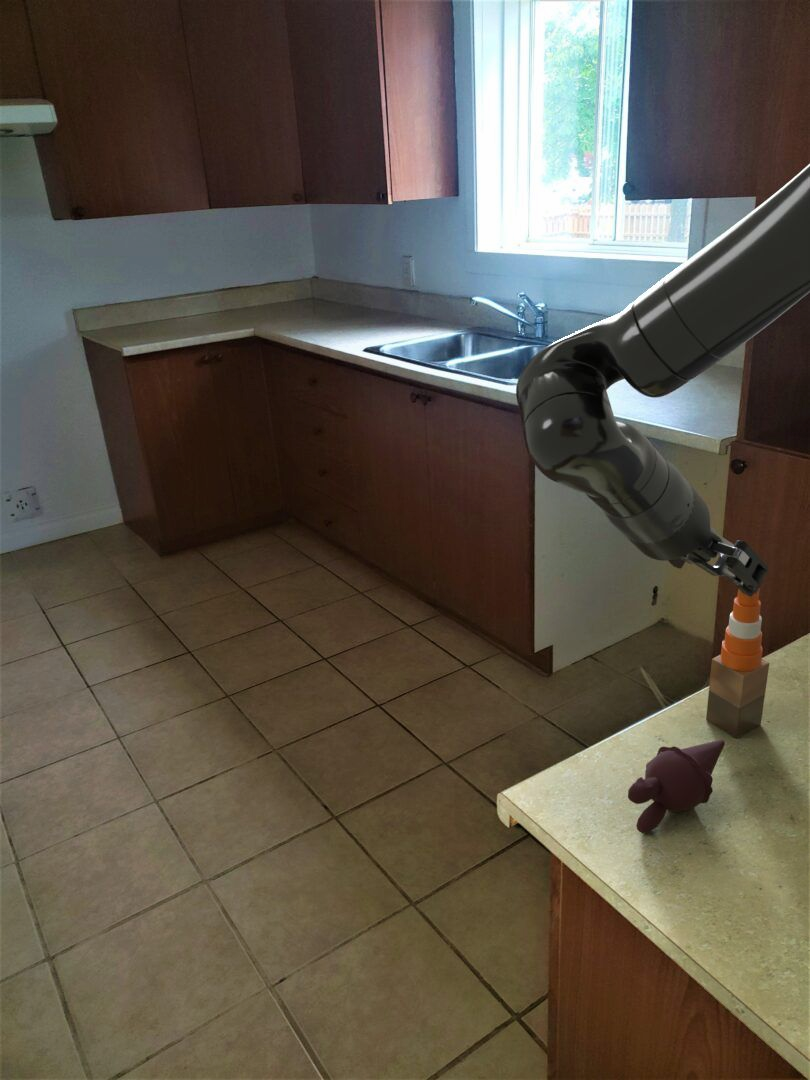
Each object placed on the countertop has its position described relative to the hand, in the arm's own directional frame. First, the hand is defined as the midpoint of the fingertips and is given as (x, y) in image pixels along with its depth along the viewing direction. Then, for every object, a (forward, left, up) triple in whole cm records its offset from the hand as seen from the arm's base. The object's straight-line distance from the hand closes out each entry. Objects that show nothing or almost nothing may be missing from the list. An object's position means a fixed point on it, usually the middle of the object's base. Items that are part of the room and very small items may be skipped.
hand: (716, 573), depth 86 cm
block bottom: (+1, -7, -23) cm, 24 cm away
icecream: (-5, +9, -23) cm, 25 cm away
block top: (+1, -7, -19) cm, 20 cm away
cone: (+1, -7, -14) cm, 16 cm away
